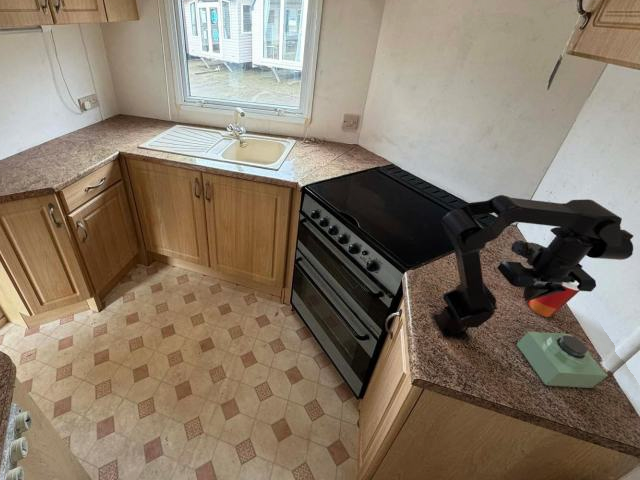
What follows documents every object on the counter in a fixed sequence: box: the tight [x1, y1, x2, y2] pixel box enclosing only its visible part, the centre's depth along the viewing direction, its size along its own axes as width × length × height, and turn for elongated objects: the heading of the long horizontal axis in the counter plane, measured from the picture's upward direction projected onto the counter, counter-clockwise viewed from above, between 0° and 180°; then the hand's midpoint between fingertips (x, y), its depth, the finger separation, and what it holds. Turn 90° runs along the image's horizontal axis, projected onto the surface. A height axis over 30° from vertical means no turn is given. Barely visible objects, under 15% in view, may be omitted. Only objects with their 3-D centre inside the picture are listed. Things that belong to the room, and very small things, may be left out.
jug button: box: [558, 335, 588, 358], centre depth 72 cm, size 4×4×2 cm
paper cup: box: [528, 281, 581, 318], centre depth 87 cm, size 8×8×14 cm
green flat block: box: [515, 331, 609, 389], centre depth 74 cm, size 11×10×8 cm
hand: (526, 298), depth 77 cm, fingers closed
